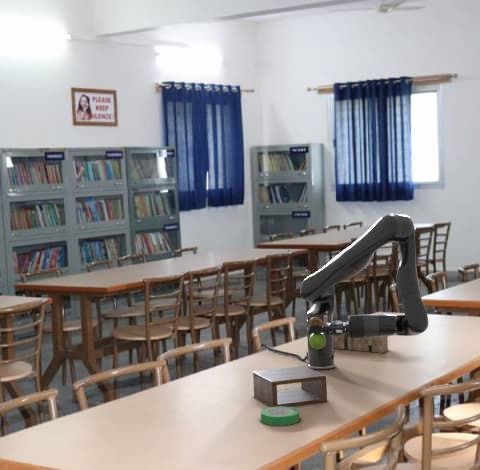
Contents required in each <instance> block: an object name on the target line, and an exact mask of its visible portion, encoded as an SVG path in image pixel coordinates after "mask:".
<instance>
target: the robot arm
mask: <svg viewBox="0 0 480 470" xmlns="http://www.w3.org/2000/svg"><path fill="white" fill-rule="evenodd" d="M414 224H415V223H414V222H413V220H412V218H411V217H410V216H408V215H406V214H395V213H394V214H393V213H391V214H385V215H383V216H381V217H380V218H379V219H378V220H377V221H376V222H375V223H374V224H373V225H372V226H371V227H369V229H368V230H367V231H366V232H365V233H364V234H363V235H361V236H360V237H359V238H357V239H356V240H355V241H354V242H352V244H350V245H348V246H347V247H346V248H345V249H343V250H342V251H341V252H339V254H337V255H336V256H335V257H334V258H332V259H331V260H330V261H329V262H328V263H327V264H326V265H324V266H323V267H322V268H320V269H318V271H315V272H314V273H312V274H310V275H309V276H307V277H306V278H304V279H303V281H302V282H301V284H300V287H299V294H300V296H301V298H302V299H303V300H304V301H306V302H307V303H313V305H312V307H311V309H309V310H308V311H307V312H306V316H305V318H306V336H307V338H306V340H307V351H306V355H305V356H304V358H303V357H302V356H301V355H299V354H296V353H293V352H287V351H283V350H279V349H275V348H273V347H271V346H270V345H268V344H266V343H265V342H262V343H261V345H260V347H265V348H266V349H268V350H269V351H272V352H274V353H278V354H282V355H286V356H291V357H295V358H298V359H299V360H300V361H302V362H305V361H307V364H308V365H307V367H309V368H311V369H313V370H331V369H334V368H335V367H336V365H335V357H336V356H335V355H336V354H335V348H334V342H333V335H343V333H348V336H349V338H350V339H358V338H373V337H380V336H388V337H391V336H393V337H394V336H399V337H400V336H401V337H413V336H419V335H421V334H422V333H425V332H426V331H427V329H428V328H429V316H428V313H427V310H426V307H425V303H424V302H423V298H422V292H421V287H420V282H419V277H418V276H419V275H418V271H417V254H416V253H417V251H416V229H415V225H414ZM391 243H393V244H397V247H398V251H399V262H398V266H397V271H396V276H395V284H396V285H395V286H396V290H397V296H398V300H399V303H400V305H401V306H402V307H403V312H404V314H397V315H396V314H395V315H394V314H391V313H385V314H383V313H381V314H373V313H372V314H371V313H370V314H369V313H368V314H366V313H365V314H349V315H348V316H347V318H346V322H345V321H342V320H334V319H333V315H334V313H335V300H336V299H335V298H336V297H335V286H336V285H337V284H339V283H343V282H344V281H347V280H349V279H351V278H354V277H355V276H357V275H359V273H361V272H362V271H363V270H365V269H366V268H368V266H369V265H370V264H371V262H372V260H373V257H374V254H375V253H376V252H377V251H378V250H380V249H381V248H383V247H384V246H386V245H387V244H391ZM326 312H328V313H326ZM325 315H327V316H328V319H327V325H322V326H310V327H309V321H310V319H312V318H314V317H318V318H320V319H321V320H322V322H324V316H325ZM313 333H322V334H323V335H324V336H325V338H326V344H325V346H324V347H323V348H321V349H314V348H312V347H311V346H310V344H309V338H310V336H311V335H312V334H313Z"/></svg>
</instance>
